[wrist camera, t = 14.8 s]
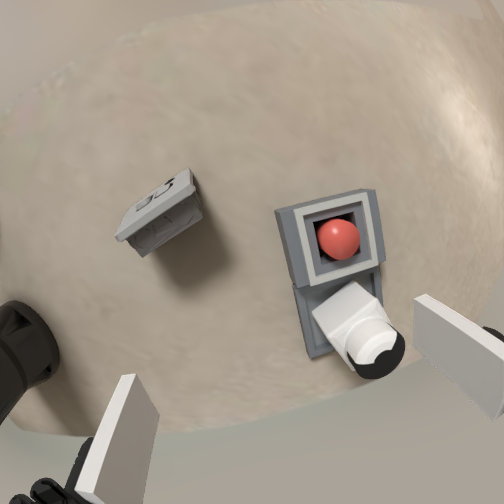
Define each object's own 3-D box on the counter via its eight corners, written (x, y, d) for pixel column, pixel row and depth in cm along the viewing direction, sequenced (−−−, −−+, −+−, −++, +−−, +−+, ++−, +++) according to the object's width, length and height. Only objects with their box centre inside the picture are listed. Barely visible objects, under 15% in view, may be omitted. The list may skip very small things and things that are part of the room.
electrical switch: (190, 166, 33) (180, 167, 24) (212, 201, 35) (210, 215, 26) (129, 208, 34) (102, 223, 25) (151, 241, 35) (131, 266, 27)
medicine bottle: (375, 314, 37) (420, 357, 26) (335, 345, 38) (369, 397, 26) (352, 278, 36) (399, 315, 24) (309, 311, 36) (340, 361, 25)
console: (306, 351, 40) (314, 369, 35) (274, 210, 35) (280, 213, 31) (379, 326, 40) (393, 340, 36) (361, 188, 35) (377, 189, 31)
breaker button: (318, 256, 35) (328, 264, 31) (310, 221, 34) (320, 226, 30) (349, 247, 35) (362, 253, 31) (343, 213, 34) (356, 216, 30)
